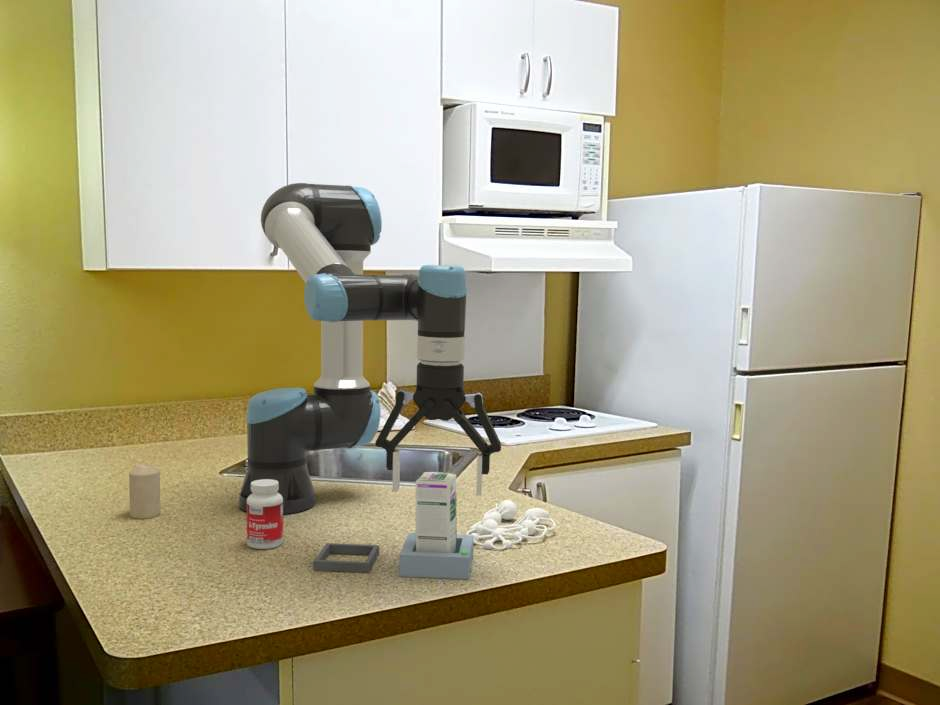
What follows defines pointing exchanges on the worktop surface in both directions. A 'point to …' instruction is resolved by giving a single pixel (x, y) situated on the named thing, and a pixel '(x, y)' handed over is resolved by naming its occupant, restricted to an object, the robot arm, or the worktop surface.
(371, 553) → the grey picture frame
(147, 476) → the candle
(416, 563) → the frame
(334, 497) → the worktop surface
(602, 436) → the worktop surface
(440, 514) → the syrup box
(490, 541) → the tangled rod sculpture
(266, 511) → the pill bottle
